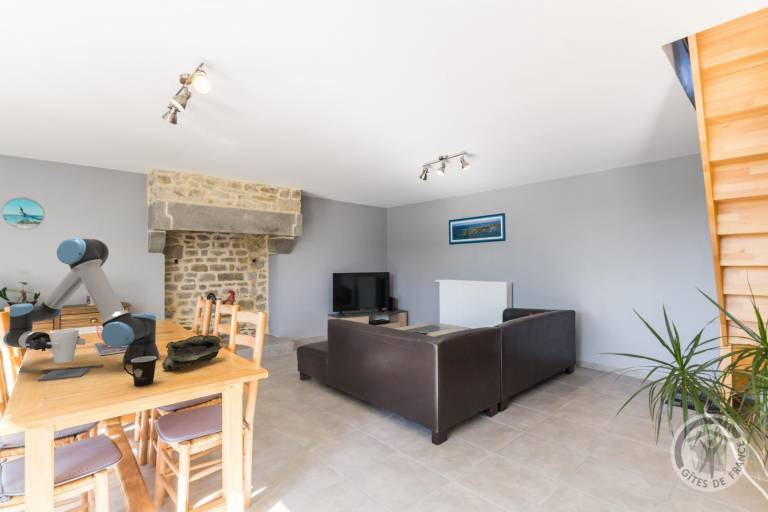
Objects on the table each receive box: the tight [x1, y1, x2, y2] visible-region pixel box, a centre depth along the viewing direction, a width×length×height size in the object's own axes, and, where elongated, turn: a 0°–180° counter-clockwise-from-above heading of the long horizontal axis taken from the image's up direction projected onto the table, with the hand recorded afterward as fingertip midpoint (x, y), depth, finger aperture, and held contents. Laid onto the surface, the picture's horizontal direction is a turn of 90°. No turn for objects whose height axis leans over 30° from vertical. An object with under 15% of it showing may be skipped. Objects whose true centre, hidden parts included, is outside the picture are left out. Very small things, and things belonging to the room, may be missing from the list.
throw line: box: [40, 363, 104, 374], centre depth 166 cm, size 22×2×1 cm, turn 113°
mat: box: [38, 367, 92, 382], centre depth 158 cm, size 14×12×1 cm
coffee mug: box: [123, 356, 157, 388], centre depth 148 cm, size 12×9×10 cm
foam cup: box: [49, 328, 80, 364], centre depth 158 cm, size 10×9×13 cm
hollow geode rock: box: [161, 334, 223, 372], centre depth 175 cm, size 28×13×15 cm
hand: (71, 344), depth 157 cm, fingers closed on foam cup, 9 cm apart
